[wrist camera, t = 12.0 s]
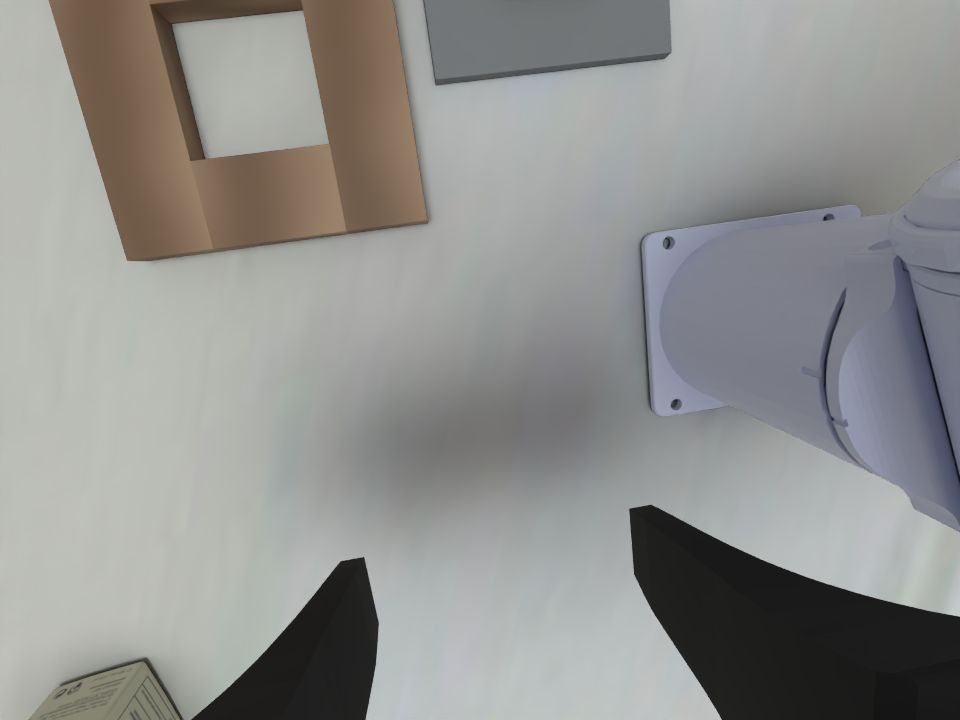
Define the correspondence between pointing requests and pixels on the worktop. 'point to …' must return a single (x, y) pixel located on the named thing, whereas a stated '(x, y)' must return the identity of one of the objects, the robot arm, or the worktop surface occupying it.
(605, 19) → the charcoal mat
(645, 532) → the robot arm
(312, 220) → the walnut square frame
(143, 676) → the skincare box
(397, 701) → the worktop surface
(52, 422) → the worktop surface
